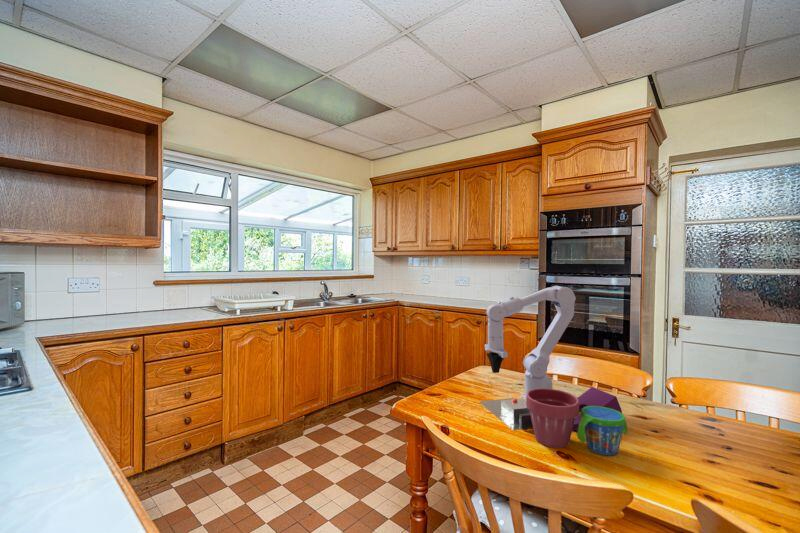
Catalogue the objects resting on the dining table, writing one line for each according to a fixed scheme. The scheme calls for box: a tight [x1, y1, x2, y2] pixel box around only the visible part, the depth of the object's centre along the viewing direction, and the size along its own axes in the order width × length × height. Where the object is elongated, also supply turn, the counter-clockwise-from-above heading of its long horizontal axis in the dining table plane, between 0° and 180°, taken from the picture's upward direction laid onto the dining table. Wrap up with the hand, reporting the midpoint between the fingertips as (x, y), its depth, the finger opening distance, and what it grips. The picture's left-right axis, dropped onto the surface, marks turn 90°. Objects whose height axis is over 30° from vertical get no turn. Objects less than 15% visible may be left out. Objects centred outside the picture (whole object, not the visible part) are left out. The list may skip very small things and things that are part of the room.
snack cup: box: [576, 406, 628, 456], centre depth 101 cm, size 16×10×10 cm
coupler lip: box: [478, 397, 533, 431], centre depth 125 cm, size 14×24×4 cm, turn 13°
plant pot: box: [525, 388, 580, 449], centre depth 106 cm, size 14×14×13 cm
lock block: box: [501, 397, 530, 422], centre depth 122 cm, size 8×8×5 cm
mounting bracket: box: [572, 386, 623, 431], centre depth 117 cm, size 9×8×18 cm
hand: (495, 372), depth 139 cm, fingers closed
